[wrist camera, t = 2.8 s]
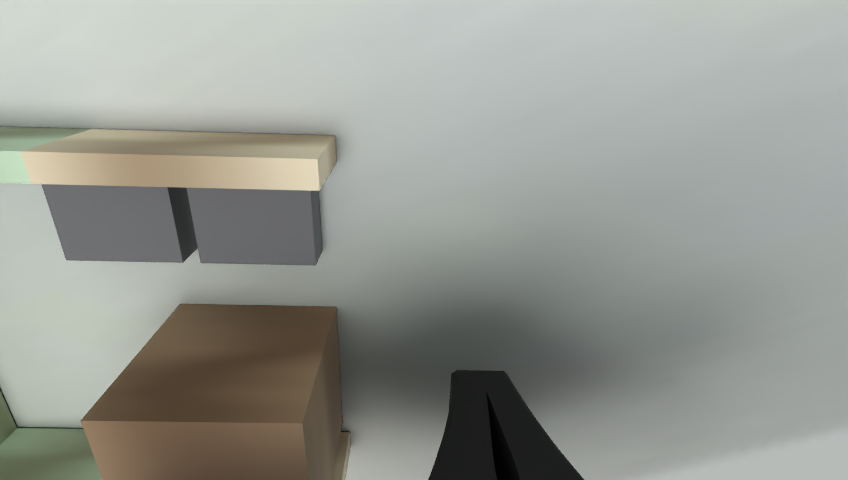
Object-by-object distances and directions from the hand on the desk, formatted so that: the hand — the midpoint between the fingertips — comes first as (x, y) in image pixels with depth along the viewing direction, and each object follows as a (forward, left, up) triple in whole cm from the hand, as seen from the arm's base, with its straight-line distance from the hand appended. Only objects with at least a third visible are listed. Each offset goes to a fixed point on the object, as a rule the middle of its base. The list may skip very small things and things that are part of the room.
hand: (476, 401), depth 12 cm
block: (+6, 0, -1) cm, 6 cm away
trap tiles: (+7, -5, -1) cm, 8 cm away
